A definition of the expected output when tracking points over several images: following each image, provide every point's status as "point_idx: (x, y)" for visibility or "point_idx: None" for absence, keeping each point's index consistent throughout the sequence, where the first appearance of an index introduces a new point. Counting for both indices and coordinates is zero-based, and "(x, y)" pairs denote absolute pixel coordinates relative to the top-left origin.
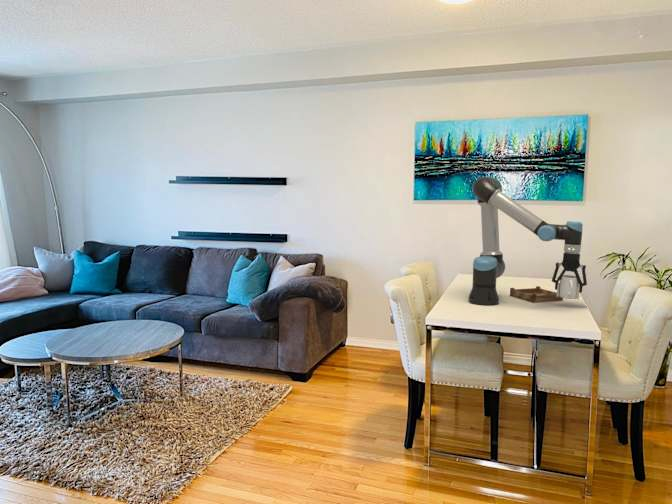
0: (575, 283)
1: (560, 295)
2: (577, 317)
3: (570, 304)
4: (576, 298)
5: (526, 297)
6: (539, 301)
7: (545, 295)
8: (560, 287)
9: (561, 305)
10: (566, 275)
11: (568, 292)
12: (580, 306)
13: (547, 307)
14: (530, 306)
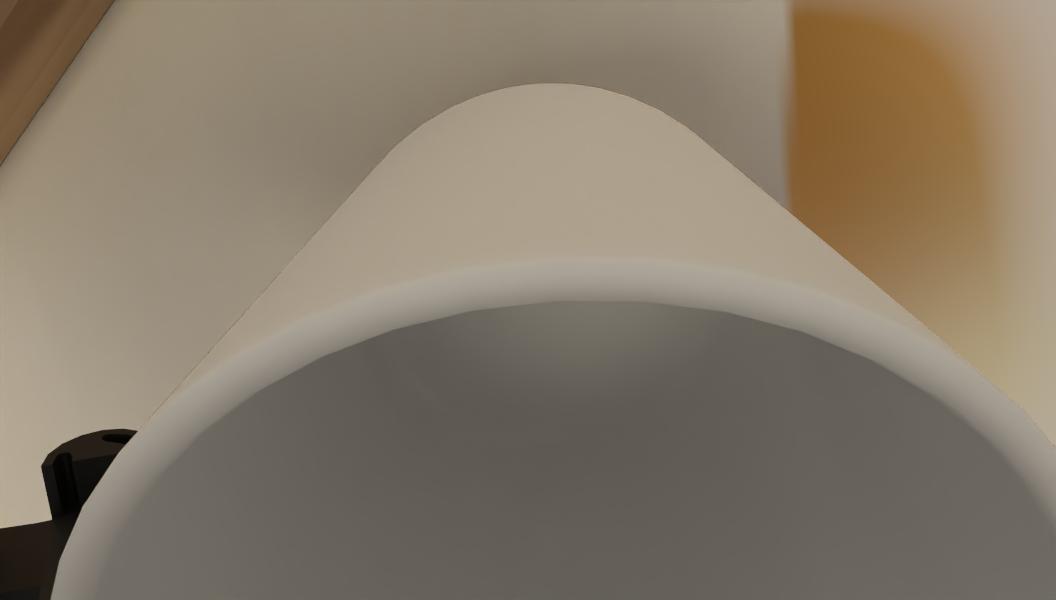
0: None
1: (388, 407)
2: None
3: (598, 22)
4: (725, 333)
5: None
6: (22, 121)
7: (14, 12)
8: (322, 506)
9: None
10: (320, 349)
11: (556, 549)
12: (777, 141)
13: None
14: (45, 515)
